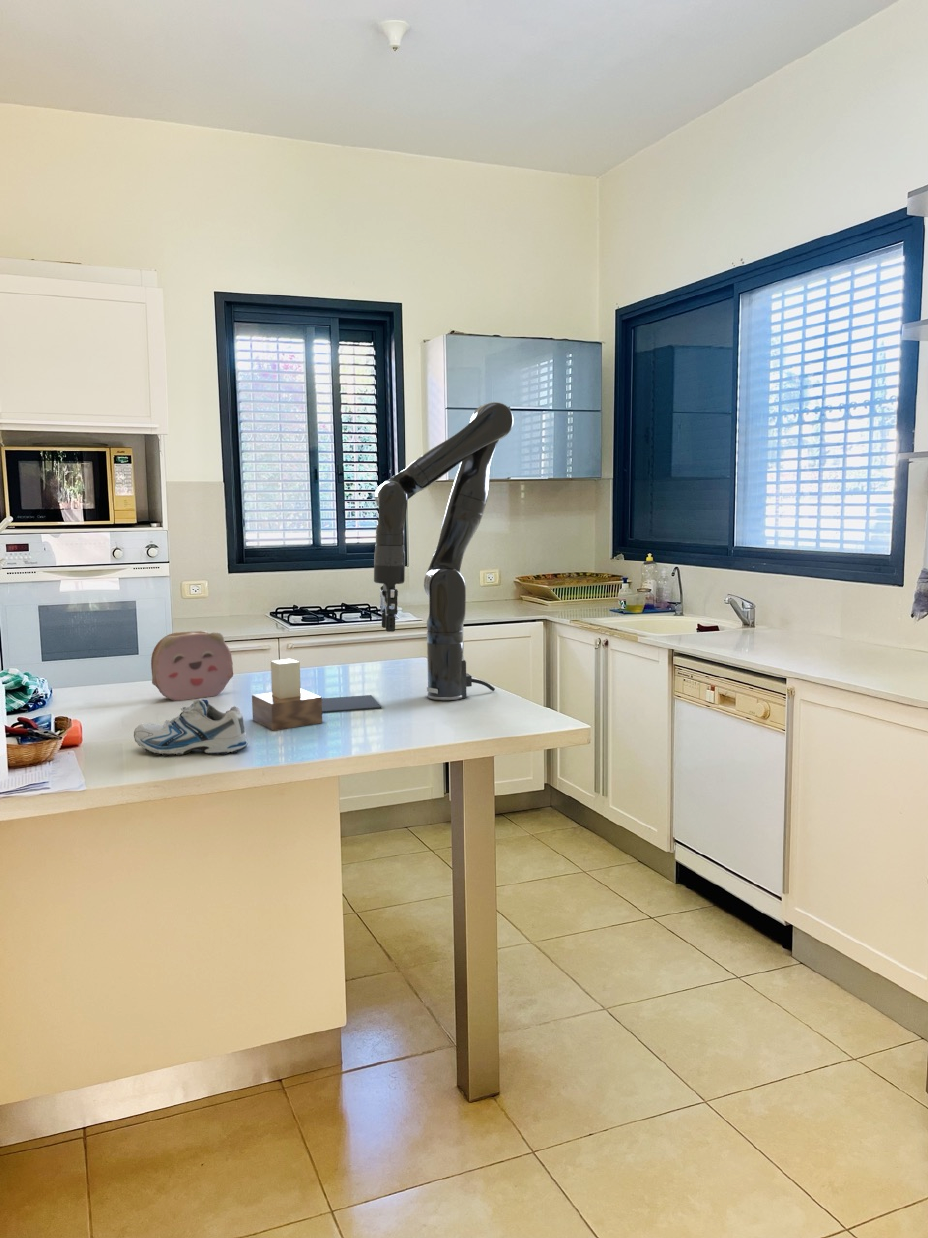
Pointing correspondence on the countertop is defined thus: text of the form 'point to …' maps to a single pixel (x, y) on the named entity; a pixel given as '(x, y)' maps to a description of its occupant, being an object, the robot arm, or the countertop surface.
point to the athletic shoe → (195, 732)
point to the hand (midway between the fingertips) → (388, 629)
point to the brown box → (287, 710)
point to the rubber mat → (349, 703)
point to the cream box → (285, 678)
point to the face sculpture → (191, 665)
